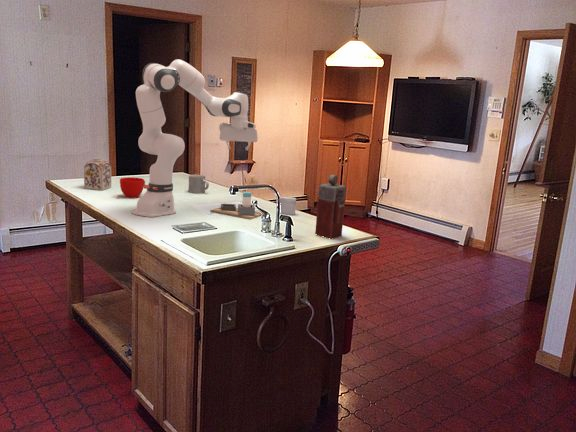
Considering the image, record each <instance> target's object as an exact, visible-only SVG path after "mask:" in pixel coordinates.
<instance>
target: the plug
mask: <svg viewBox="0 0 576 432" xmlns="http://www.w3.org/2000/svg"><path fill="white" fill-rule="evenodd" d="M241 200H242V203H241V204H242V207H251V205H252V204H251V203H252V192H251V191H242V199H241Z"/></svg>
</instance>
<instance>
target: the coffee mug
mask: <svg viewBox="0 0 576 432" xmlns="http://www.w3.org/2000/svg"><path fill="white" fill-rule="evenodd" d="M209 186H210V183H209V181H208V180H207V179H206V176H205V175H203V174H190V175H188V193H189V194H196V195H197V194H198V195H199V194H205V193H206V191H207V190H208V189H209Z"/></svg>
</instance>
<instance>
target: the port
mask: <svg viewBox="0 0 576 432" xmlns="http://www.w3.org/2000/svg"><path fill="white" fill-rule="evenodd" d="M237 205H238V206H237V208H238V214H239V215H247V216H255V211H256V207H255V204H251V207H242V203H238V204H237Z"/></svg>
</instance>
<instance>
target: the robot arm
mask: <svg viewBox="0 0 576 432" xmlns="http://www.w3.org/2000/svg"><path fill="white" fill-rule="evenodd" d="M141 83H142V84H141V85H139V86H137V88H136V90H135V100H136V106H137V109H138V112H139V116H140V119H141V123H142V133H141V135H140V136H139V137H138V142H137V143H138V147H139V149H140V150H141V151H142V152H144V153H147V154H149V155H156V156H157V159H156V161H155V163H153V164H151V166H150V168H149V182H148V184H145V185H144V186H143V190H144V189H146V192H145V193H144V194H143V195H141V197H140V198H139V199H138V200H137V202H136V209H133V210H132V211H131V214H133V215H137V216H140V217H149V218H156V217H160V216H161V217H163V216H167V215H173V214H174V215H175V214H176V213H177V211H176V209H175V208H176V207H175V198H174V194H173V191H174V183H173V170H174V166H175V163H176V161H177V159H178V158H179V157H180V156H182V155H183V154H184V151H185V146H186V145H185V141H184V139H183V138H182V137H180V136H178V135H175V134H172V133H163V132H162V127H163V126H164V125H165V124H166V121H167V119H166V114H165V111H164V107H163V104H162V100H161V92H162V93H169V92H172V91H173V90H174V89H175V88H177V86H180V87H181V88H182V89H183V90H185V91H187V93H189V94H190V95H192V96H193V97H194V98H195V99H196V100H197V101H198V102H200V103H201V104H202V105H203V106H204V107H205V109H206V110H207V112H208V113H209V115H210V116H212V117H222V118H230V122H227V123H226V122H222V123H220V124H219V127H218V130H219V131H220V132H219V140H220V141H222V142H223V141H225V144H226V145H227V150H231V149H232V147H231V145H230V144H229V142H246V143H247V144H248V145H247V146H245V151H249V148H250V146H251V144H252V143H256V142H258V138H259V137H258V131H257V128H256V127H257V126H256V124H255V123H253V122H252V121H249V119H248V118H249V117H248V113H249V97H248V95H247V94H246V93H243V92H239V91H234V92H233V93H232V94H231V95H228V96H227V97H219V96H214V95H212V94H211V93H210V92H209V91H207V90H206V89H205V86H206V78H205V77H204V76H203V74H202V73H201V72H200V71H199V70H197V68H195V67H194V66H193V65H191V64H190V63H188V62H187V61H184V60H182V59H174V60H173V61H171V63H170V64H169V65H168V66H165V65H163V64H159V63H157V62H150V63H147V64H146V65H145V66H144V67H143V70H142V78H141Z"/></svg>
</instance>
